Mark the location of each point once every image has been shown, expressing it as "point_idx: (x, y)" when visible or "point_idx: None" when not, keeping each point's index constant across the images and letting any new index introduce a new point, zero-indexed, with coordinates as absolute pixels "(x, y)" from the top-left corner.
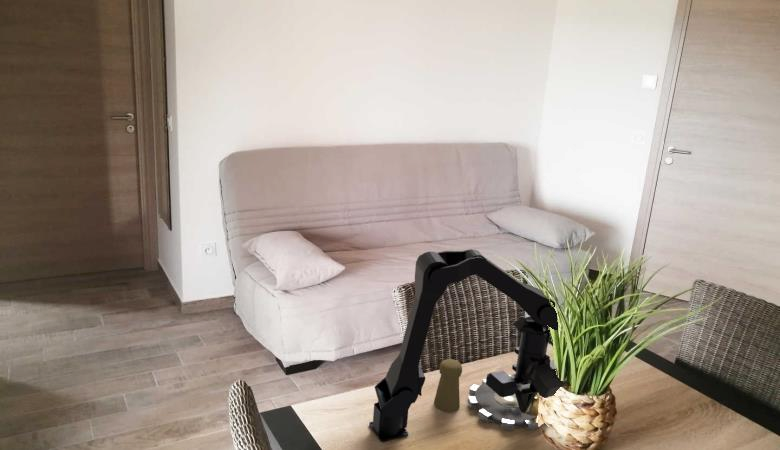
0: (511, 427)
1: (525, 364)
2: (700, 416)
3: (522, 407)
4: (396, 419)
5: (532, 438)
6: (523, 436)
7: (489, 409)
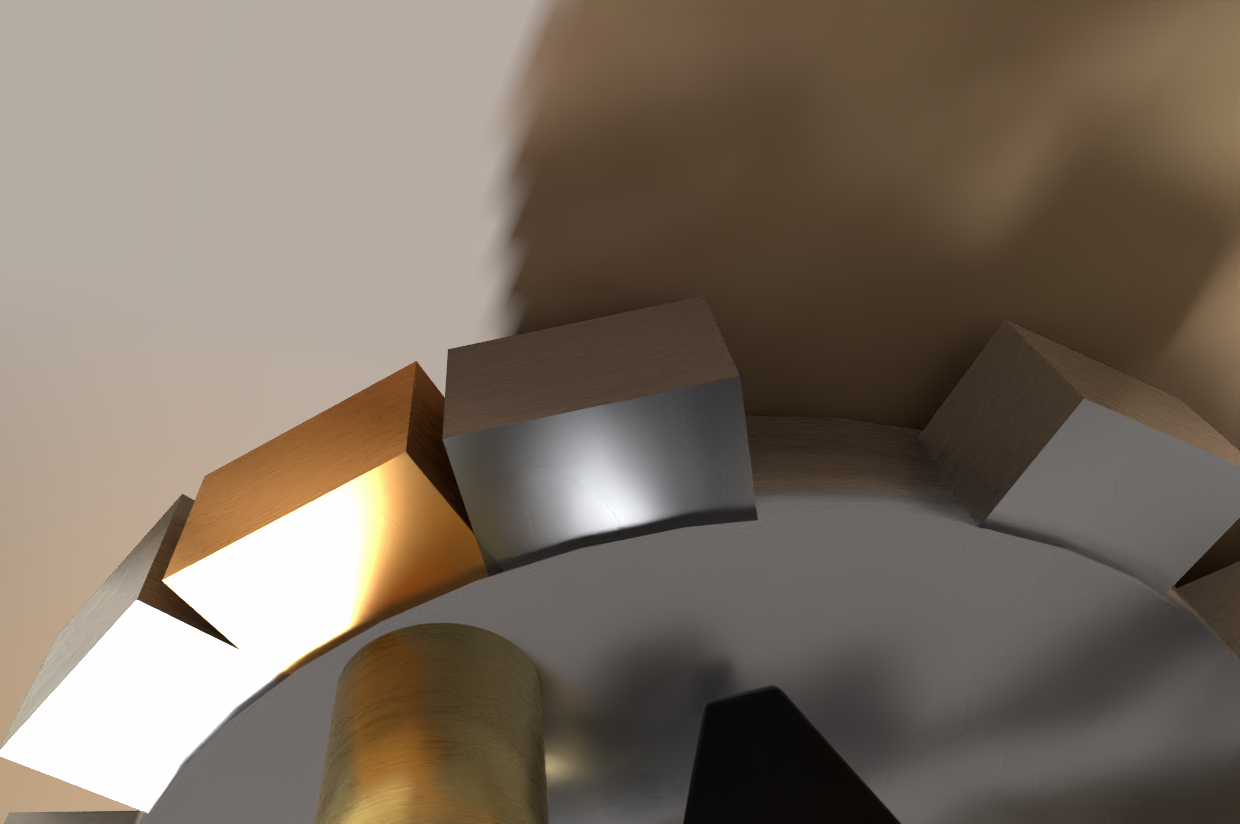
0: (1072, 362)
1: None
2: None
3: (874, 813)
4: None
5: (681, 72)
6: (843, 162)
7: (1233, 773)
